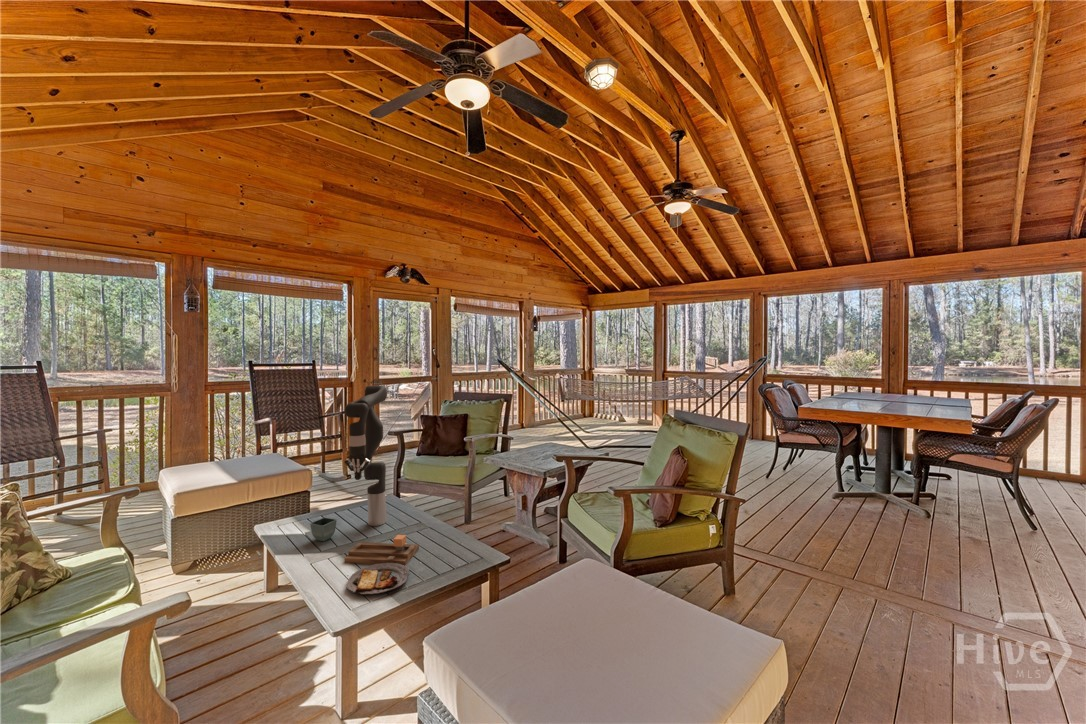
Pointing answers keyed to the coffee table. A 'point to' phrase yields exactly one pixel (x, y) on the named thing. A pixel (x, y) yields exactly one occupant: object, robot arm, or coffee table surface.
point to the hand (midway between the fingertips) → (358, 479)
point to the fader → (399, 542)
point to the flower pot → (323, 528)
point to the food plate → (371, 584)
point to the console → (380, 553)
